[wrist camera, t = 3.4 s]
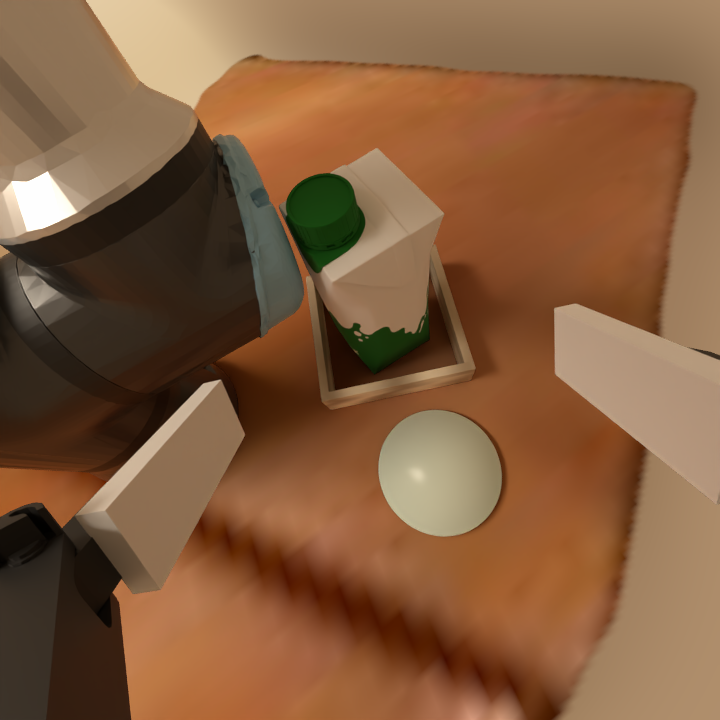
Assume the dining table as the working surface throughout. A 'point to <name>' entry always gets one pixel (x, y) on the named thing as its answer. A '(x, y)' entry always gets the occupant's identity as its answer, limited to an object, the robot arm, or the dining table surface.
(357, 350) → the soya milk
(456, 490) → the pale green disc
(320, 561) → the dining table surface
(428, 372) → the dock
